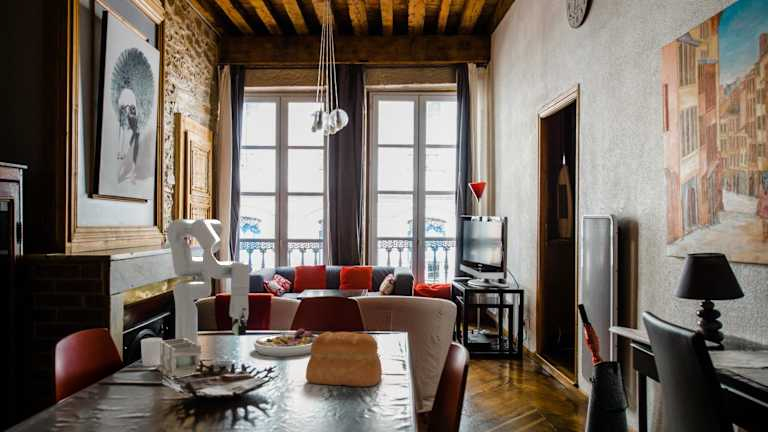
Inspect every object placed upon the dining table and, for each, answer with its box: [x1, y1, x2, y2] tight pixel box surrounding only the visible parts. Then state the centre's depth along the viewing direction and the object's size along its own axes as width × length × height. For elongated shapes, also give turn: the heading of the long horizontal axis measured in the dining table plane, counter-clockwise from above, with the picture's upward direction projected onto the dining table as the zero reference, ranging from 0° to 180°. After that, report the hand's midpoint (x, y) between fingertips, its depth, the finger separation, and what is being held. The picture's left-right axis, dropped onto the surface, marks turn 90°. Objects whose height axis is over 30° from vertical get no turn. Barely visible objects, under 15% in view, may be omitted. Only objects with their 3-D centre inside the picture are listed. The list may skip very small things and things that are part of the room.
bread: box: [305, 331, 383, 387], centre depth 185 cm, size 16×26×17 cm, turn 78°
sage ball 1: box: [176, 356, 191, 368], centre depth 195 cm, size 6×6×6 cm
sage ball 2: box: [231, 322, 240, 337], centre depth 219 cm, size 6×6×6 cm
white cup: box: [140, 337, 163, 367], centre depth 210 cm, size 8×8×10 cm
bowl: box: [253, 328, 319, 358], centre depth 233 cm, size 30×30×8 cm
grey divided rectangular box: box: [155, 338, 202, 377], centre depth 199 cm, size 21×12×10 cm, turn 38°
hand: (239, 333), depth 219 cm, fingers closed on sage ball 2, 5 cm apart
